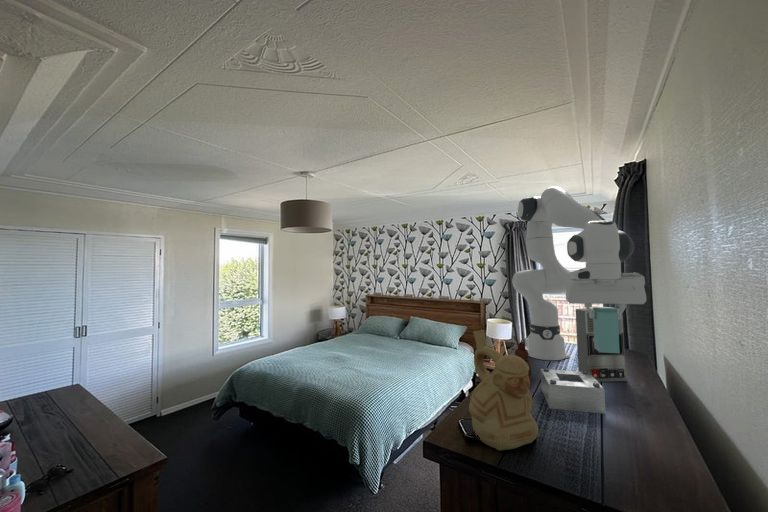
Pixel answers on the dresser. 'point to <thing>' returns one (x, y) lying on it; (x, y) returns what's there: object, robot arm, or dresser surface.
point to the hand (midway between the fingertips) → (605, 318)
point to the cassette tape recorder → (591, 359)
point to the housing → (572, 391)
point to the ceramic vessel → (502, 399)
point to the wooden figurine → (523, 355)
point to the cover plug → (606, 330)
